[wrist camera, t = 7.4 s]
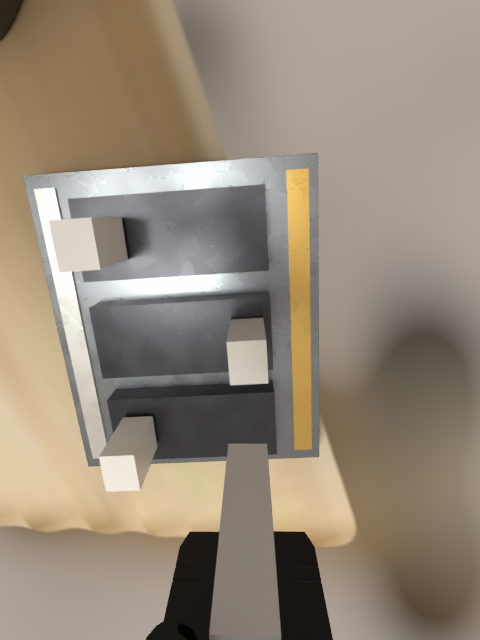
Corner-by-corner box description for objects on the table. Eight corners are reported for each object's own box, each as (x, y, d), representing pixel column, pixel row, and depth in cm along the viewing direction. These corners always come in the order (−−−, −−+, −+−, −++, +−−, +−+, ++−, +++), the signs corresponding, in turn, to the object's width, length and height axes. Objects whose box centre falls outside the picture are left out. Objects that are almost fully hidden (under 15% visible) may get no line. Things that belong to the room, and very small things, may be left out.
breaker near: (86, 219, 25) (48, 220, 20) (121, 217, 25) (90, 217, 20) (94, 262, 26) (59, 272, 21) (128, 259, 26) (100, 269, 21)
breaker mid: (230, 319, 27) (226, 342, 22) (263, 317, 27) (266, 339, 22) (233, 356, 28) (230, 385, 23) (265, 354, 28) (268, 383, 23)
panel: (41, 179, 29) (5, 172, 24) (311, 158, 28) (323, 147, 24) (99, 449, 36) (78, 481, 32) (314, 440, 35) (323, 471, 31)
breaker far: (123, 417, 29) (98, 456, 25) (152, 416, 29) (133, 455, 25) (128, 448, 30) (106, 491, 26) (157, 446, 30) (140, 490, 25)
